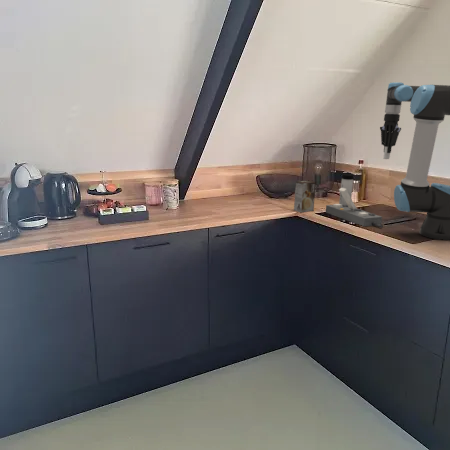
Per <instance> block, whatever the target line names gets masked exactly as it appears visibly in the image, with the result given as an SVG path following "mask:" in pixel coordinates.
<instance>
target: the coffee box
mask: <svg viewBox="0 0 450 450" xmlns="http://www.w3.org/2000/svg"><path fill="white" fill-rule="evenodd" d="M315 193H316V182H315V181H311V180H299V181H295V189H294V205H293V211H295V212H299V213H307V212H314V208H315V195H316V194H315Z"/></svg>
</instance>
